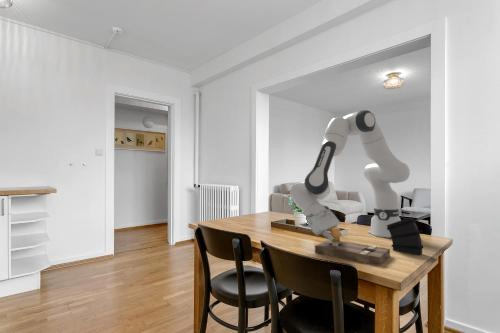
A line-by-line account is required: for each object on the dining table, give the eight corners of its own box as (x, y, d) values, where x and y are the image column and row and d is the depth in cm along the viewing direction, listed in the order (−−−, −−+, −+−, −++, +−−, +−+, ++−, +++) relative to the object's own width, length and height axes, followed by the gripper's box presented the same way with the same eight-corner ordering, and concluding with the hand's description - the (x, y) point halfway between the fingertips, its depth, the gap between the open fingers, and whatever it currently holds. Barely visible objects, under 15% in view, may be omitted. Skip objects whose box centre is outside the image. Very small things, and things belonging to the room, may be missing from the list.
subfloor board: (329, 245, 130) (329, 238, 130) (389, 256, 113) (389, 248, 113) (315, 252, 119) (315, 245, 119) (379, 265, 102) (379, 256, 102)
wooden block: (333, 249, 123) (332, 226, 123) (341, 251, 121) (341, 228, 121) (329, 251, 120) (329, 228, 121) (337, 253, 118) (337, 229, 118)
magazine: (428, 253, 111) (410, 217, 116) (397, 260, 120) (381, 227, 125) (431, 251, 114) (413, 216, 118) (400, 258, 122) (385, 225, 127)
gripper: (308, 211, 117) (331, 238, 111) (329, 206, 133) (350, 229, 127) (299, 220, 120) (320, 247, 114) (321, 214, 136) (340, 237, 129)
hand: (336, 237), depth 120 cm, fingers open, 7 cm apart
